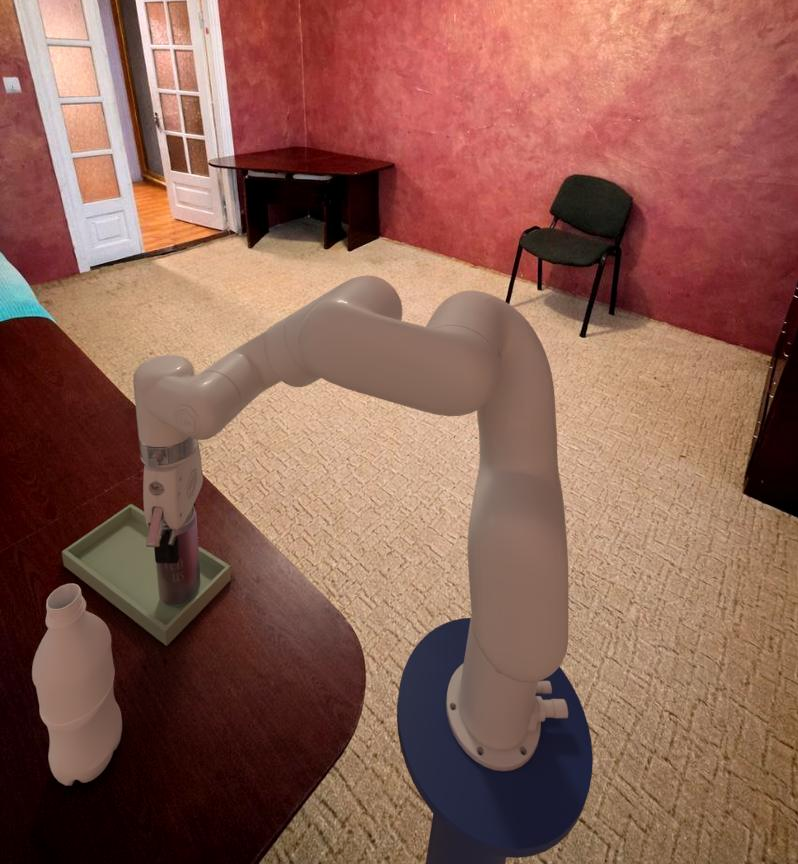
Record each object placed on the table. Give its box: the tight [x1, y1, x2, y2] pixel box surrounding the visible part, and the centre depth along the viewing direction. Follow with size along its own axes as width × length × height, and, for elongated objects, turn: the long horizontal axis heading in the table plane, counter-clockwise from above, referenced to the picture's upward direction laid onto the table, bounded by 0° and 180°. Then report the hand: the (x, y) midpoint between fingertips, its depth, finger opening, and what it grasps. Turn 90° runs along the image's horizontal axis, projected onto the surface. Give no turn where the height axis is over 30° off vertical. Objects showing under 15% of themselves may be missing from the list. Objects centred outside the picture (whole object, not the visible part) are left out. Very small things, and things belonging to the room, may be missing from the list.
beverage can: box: [156, 506, 200, 606], centre depth 74 cm, size 6×6×15 cm
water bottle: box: [31, 583, 123, 787], centre depth 54 cm, size 7×7×25 cm
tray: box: [61, 503, 232, 647], centre depth 79 cm, size 25×12×3 cm, turn 62°
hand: (176, 540), depth 73 cm, fingers closed on beverage can, 6 cm apart
